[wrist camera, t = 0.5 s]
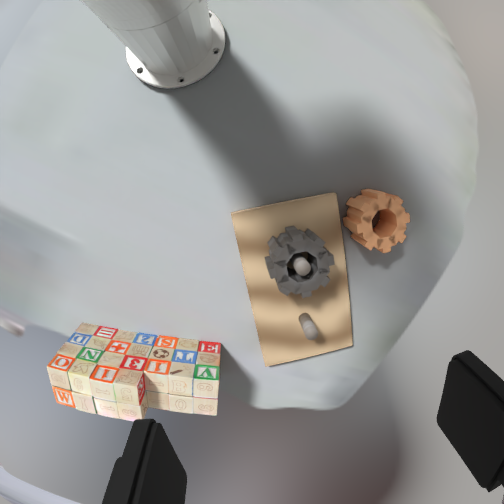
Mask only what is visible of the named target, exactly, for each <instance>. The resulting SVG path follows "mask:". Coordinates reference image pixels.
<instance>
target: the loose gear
mask: <svg viewBox="0 0 504 504" xmlns="http://www.w3.org/2000/svg"><path fill="white" fill-rule="evenodd" d="M361 194H362V195H358V196H356V198H352V197H350V198H349V200H348V201H347V203H346V205H348V206H349V208H348V210H347V217H343V224H344V226H345V227H347V228H349V230H350V231H351V232H353V233H352V235H351V236H350V237H351V238H353V239H354V240H355V241H357V242H358V243H360V244H361V245H363V246H364V247H366V248H367V249H369V250H370V251H371V250H372V249H373V247H374V248H376V249H377V250H379V251H380V252H382V253H387V252H391V246H394V245H396V244H397V242H400V243H403V241H404V240H405V238H406V235H405V234H404V232H405V230H406V223H409V222H410V214H409V213H406V212H405V209H404V208H403V207H402V206H401V205H402V203H403V200H402V199H401V198H399V197H398V196H396V195H392V194H388V193H385V192H382V191H377V190H373V189H363V190H361ZM378 210H379V215H380V220H379V221H378V223H377V224H376V226H375V227H374V228H372V219H373V217H374V216H375V214H376V213H377V211H378Z"/></svg>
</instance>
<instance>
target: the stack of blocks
mask: <svg viewBox="0 0 504 504" xmlns="http://www.w3.org/2000/svg"><path fill="white" fill-rule="evenodd" d="M220 353H221V343H217V342H206V341H199V340H192V339H184V338H175V337H168V336H161V335H159V336H157V335H150V334H144V333H136V332H130V331H123V330H118V329H114V328H108V327H102V326H98V325H93V324H87V323H82V324H81V325H80V326H79V327H78V328H77V330H76V331H75V333H74V334H73V335H72V336H71V337H70V338H69V339H68V340H67V342H66V343H64V345H63V346H62V347H61V348H60V349H59V351H58V352H57V353H56V356H55V357H54V358H53V359H52V360H51V362H50V363H49V364H48V365H47V370H48V374H49V378H50V382H51V385H52V388H53V392H54V395H55V398H56V402H57V403H59V404H63V405H66V406H70V407H73V408H76V409H77V410H81V411H84V412H89V413H94V414H97V413H98V414H99V415H102V416H107V417H113V418H117V419H119V418H121V419H124V420H129V421H135V420H136V419H144V418H145V414H146V411H147V408H155V409H162V410H170V411H174V412H182V413H190V414H193V413H195V414H204V415H215V416H216V415H217V404H218V391H219V380H220V373H219V372H220V356H221V355H220Z"/></svg>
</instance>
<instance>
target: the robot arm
mask: <svg viewBox="0 0 504 504" xmlns="http://www.w3.org/2000/svg"><path fill="white" fill-rule="evenodd" d="M80 1H81V2H82V3H84V4H85V5H86V6H87V7H88V8H89V9H90V10H91V11H92V12H93V13H94V14H95V15H96V16H97V17H98V18H99V19H100V20H101V21H102V22H103V23H104V24H105V25H106V26H107V27H108V28H109V29H110V30H111V31H112V32H113V33H114V34H115V35H116V36H117V38H118V39H119V40H120V41H121V42H122V43H123V44H124V45H125V46H126V58H127V62H128V65H129V67H130V69H131V70H132V72H133V73H134V74H135V75H136V76H137V77H138V78H139V79H140V80H142V81H143V82H145V83H147V84H149V85H151V86H154V87H157V88H165V89H170V88H179V87H184V86H187V85H190V84H193V83H195V82H197V81H199V80H200V79H202V78H204V77H205V76H206V75H207V74H209V73H210V72H211V71H212V70H213V69H214V68H215V66H216V65H217V64H218V62H219V60H220V59H221V57H222V54H223V51H224V48H225V32H224V28H223V25H222V23H221V21H220V19H219V18H218V17H217V16H216V15H215V14H214V13H213V12H212V11H211V10H209V9H208V3H207V0H80ZM215 52H218V54H214V53H215ZM141 71H143V72H142V73H141V74H140V72H141ZM182 79H183V80H184V81H183V82H180V80H182ZM437 423H438V425H439V427H440V428H441V430H442V431H443V433H444V434H445V435H446V437H447V438H448V440H449V441H450V443H451V444H452V445H453V447H454V448H455V450H456V451H457V452H458V454H459V455H460V456H461V458H462V460H463V461H464V463H465V464H466V465H467V467H468V468H469V470H470V471H471V473H472V474H473V476H474V477H475V479H476V480H477V482H478V483H479V485H480V486H481V487H483V488H486V489H487V490H488V492H490V491H492V490H494V489H495V488H497V487H498V486H500V485H501V484H502V485H503V487H504V381H503V380H502V379H501V378H500V377H499V376H498V375H497V374H496V373H494V372H493V371H492V370H491V369H490V368H489V367H488V366H487V365H486V364H484V363H483V362H482V361H481V360H480V359H479V358H478V357H477V356H475V355H474V354H473V353H472V352H471V351H469V350H466V351H464V352H462V353H459V354H457V355H454V356H453V357H452V360H451V361H450V362H449V365H448V370H447V375H446V380H445V384H444V389H443V394H442V398H441V403H440V406H439V410H438V414H437ZM186 485H187V475H186V472H185V470H184V468H183V466H182V464H181V462H180V460H179V459H178V457H177V455H176V453H175V451H174V449H173V447H172V445H171V443H170V441H169V439H168V437H167V435H166V433H165V431H164V429H163V427H162V425H161V424H160V423H156V421H155V420H154V419H136V420H135V421H134V423H133V426H132V429H131V431H130V435H129V437H128V440H127V443H126V446H125V449H124V452H123V455H122V457H119V458H118V459H117V460H116V462H115V465H114V468H113V471H112V474H111V477H110V480H109V483H108V486H107V489H106V492H105V496H104V499H103V502H102V504H184V503H185V494H186ZM502 504H504V495H503V500H502Z"/></svg>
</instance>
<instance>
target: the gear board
mask: <svg viewBox="0 0 504 504" xmlns="http://www.w3.org/2000/svg"><path fill="white" fill-rule="evenodd" d="M231 216H232V221H233V225H234V230H235V235H236V239H237V244H238V248H239V253H240V257H241V262H242V266H243V270H244V275H245V279H246V284H247V288H248V293H249V297H250V301H251V306H252V310H253V315H254V319H255V323H256V328H257V332H258V336H259V341H260V345H261V349H262V354H263V358H264V362H265V367H266V366H271V365H276V364H280V363H285V362H289V361H294V360H298V359H302V358H306V357H311V356H315V355H319V354H323V353H326V352H330V351H334V350H338V349H342V348H345V347H349V346H352V345H353V343H352V327H351V314H350V302H349V291H348V280H347V271H346V262H345V253H344V245H343V237H342V230H341V222H340V215H339V208H338V202H337V195H336V193H333V192H331V193H326V194H321V195H315V196H310V197H305V198H300V199H294V200H289V201H284V202H279V203H274V204H269V205H264V206H260V207H255V208H250V209H245V210H241V211H236V212H231Z"/></svg>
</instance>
